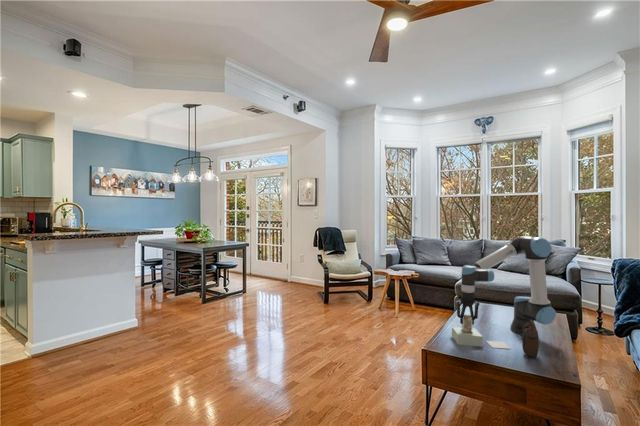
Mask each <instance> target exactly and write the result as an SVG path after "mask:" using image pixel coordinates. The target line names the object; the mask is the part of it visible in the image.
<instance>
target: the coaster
mask: <svg viewBox="0 0 640 426" xmlns="http://www.w3.org/2000/svg"><path fill="white" fill-rule="evenodd" d="M485 342H486V343H487V344H488V345H489V347H490V348H492V349H499V350H500V349H501V350H511V348H510V347H509V346H508V345H507V344H506V343H505V342H504V341H497V340H496V341H495V340H486V341H485Z"/></svg>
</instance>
